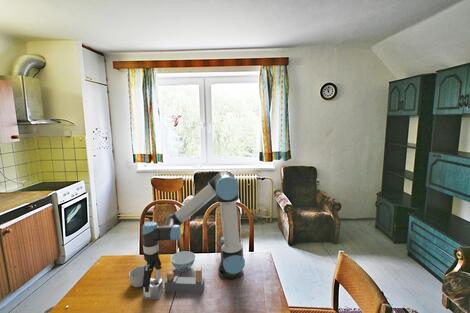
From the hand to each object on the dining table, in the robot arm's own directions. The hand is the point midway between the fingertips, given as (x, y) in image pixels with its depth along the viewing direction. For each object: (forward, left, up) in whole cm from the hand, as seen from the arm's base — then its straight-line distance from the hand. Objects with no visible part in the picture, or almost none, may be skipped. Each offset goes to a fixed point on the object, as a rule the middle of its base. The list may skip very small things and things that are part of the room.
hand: (153, 288), depth 139 cm
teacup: (+11, -9, -3) cm, 15 cm away
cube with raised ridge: (0, 0, -3) cm, 3 cm away
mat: (0, 0, -3) cm, 3 cm away
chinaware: (-10, -24, -3) cm, 26 cm away
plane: (-16, -5, -3) cm, 17 cm away
